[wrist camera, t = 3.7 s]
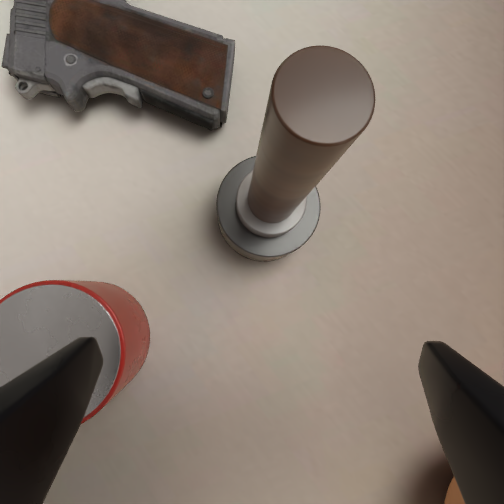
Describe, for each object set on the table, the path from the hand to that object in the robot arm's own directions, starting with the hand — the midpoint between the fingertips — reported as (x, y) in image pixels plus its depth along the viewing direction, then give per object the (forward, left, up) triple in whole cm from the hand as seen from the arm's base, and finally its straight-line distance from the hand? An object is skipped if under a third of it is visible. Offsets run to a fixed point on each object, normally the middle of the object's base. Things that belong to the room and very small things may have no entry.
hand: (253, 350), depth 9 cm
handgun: (+22, +8, -12) cm, 27 cm away
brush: (+6, -2, -12) cm, 14 cm away
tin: (-2, +9, -12) cm, 15 cm away
